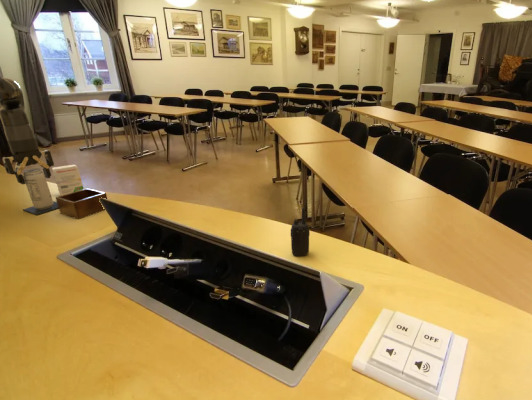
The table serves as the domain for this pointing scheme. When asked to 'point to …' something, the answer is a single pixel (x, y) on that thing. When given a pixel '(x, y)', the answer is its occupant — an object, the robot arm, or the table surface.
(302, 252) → the two-way radio
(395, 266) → the table surface
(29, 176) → the energy drink can
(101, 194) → the brown wooden box
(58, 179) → the ink box
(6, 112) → the robot arm
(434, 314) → the table surface
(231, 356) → the table surface
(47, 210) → the coaster
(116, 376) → the table surface
